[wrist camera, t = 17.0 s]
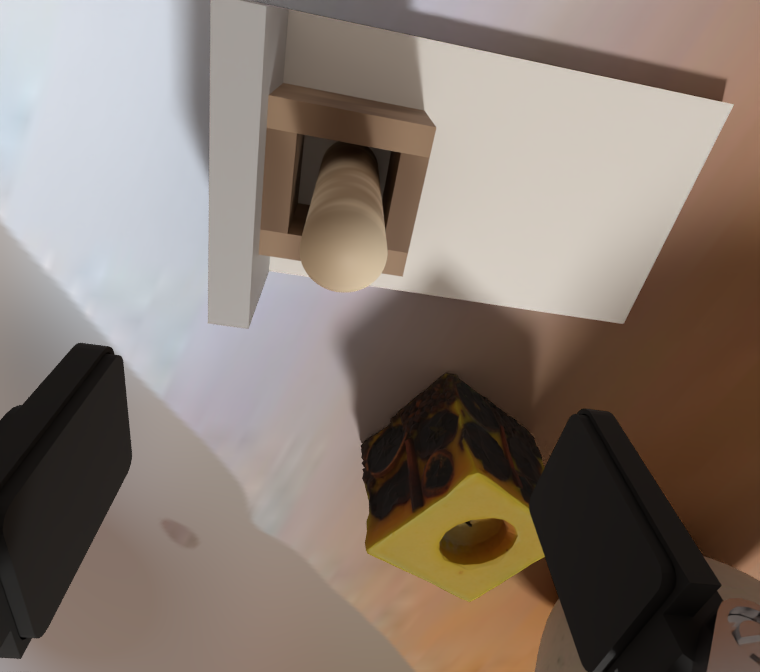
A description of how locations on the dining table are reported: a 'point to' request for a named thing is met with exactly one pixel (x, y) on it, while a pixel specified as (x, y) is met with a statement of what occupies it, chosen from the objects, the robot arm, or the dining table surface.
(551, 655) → the vase
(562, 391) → the dining table surface
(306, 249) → the dowel
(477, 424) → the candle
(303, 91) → the brown square wooden frame
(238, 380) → the dining table surface
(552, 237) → the board
